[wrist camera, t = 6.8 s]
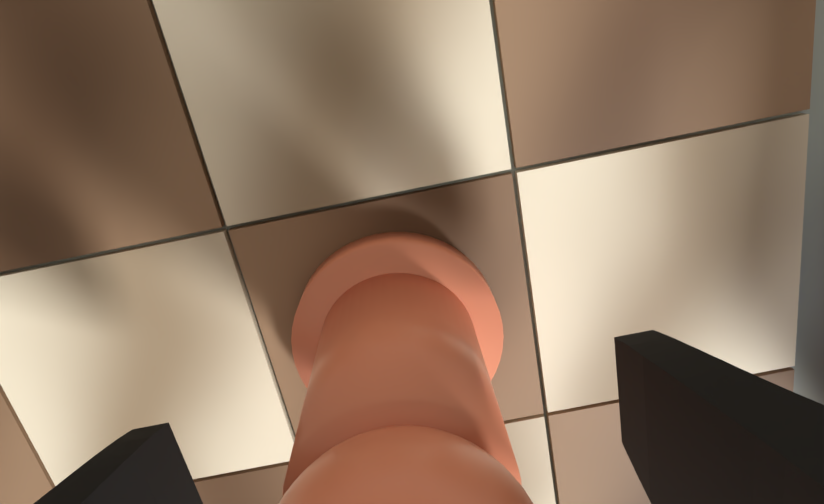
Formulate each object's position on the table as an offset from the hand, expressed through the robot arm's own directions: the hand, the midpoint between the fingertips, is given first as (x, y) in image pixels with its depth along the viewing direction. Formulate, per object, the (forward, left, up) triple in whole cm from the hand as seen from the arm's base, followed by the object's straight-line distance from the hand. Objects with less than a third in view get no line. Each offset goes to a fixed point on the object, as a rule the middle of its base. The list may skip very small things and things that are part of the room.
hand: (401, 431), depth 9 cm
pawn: (0, 0, -3) cm, 4 cm away
